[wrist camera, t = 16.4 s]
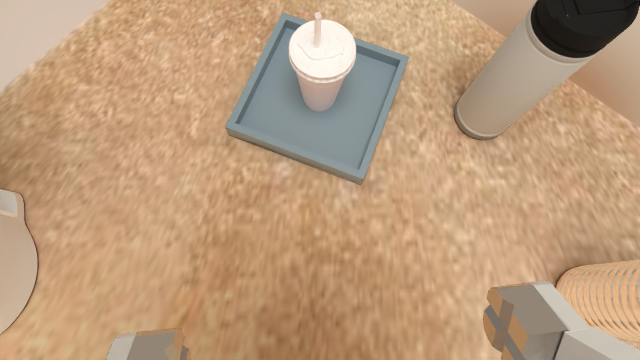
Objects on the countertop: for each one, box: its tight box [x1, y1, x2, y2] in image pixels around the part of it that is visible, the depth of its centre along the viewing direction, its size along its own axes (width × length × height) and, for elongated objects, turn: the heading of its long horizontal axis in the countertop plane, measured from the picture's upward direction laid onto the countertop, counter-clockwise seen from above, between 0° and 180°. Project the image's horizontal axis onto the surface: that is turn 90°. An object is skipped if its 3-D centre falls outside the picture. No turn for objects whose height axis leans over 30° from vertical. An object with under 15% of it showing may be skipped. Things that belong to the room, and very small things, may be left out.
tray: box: [225, 12, 409, 185], centre depth 46 cm, size 16×16×2 cm
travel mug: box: [454, 0, 640, 140], centre depth 38 cm, size 6×7×20 cm
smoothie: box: [289, 12, 356, 112], centre depth 39 cm, size 6×6×14 cm
